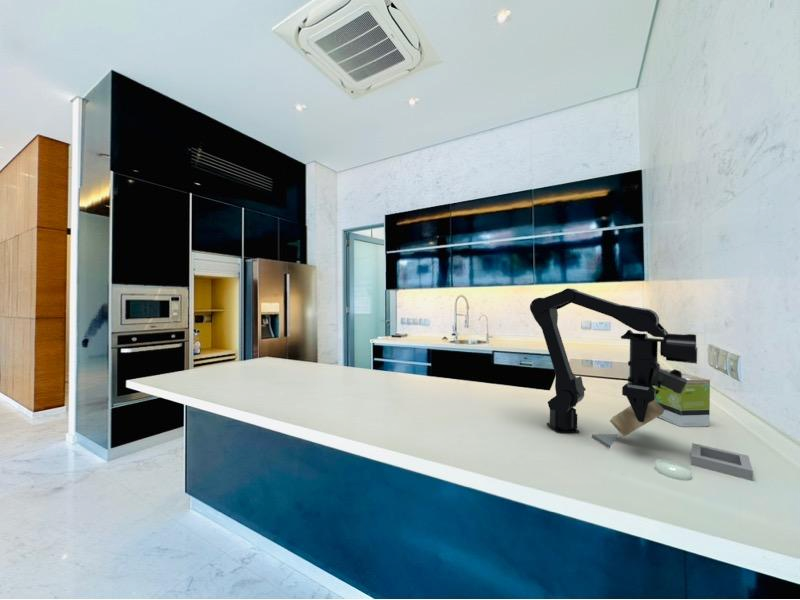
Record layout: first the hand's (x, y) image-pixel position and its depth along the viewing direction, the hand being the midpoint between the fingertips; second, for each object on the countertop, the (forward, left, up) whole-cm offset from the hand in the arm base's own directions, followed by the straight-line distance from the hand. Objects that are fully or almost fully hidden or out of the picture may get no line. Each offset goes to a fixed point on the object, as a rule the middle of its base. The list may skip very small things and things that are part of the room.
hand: (642, 419), depth 84 cm
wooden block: (-4, +4, -3) cm, 6 cm away
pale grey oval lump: (-4, -13, -8) cm, 16 cm away
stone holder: (+10, -10, -8) cm, 16 cm away
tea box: (+29, +22, -8) cm, 37 cm away
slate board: (-1, +1, -8) cm, 8 cm away
